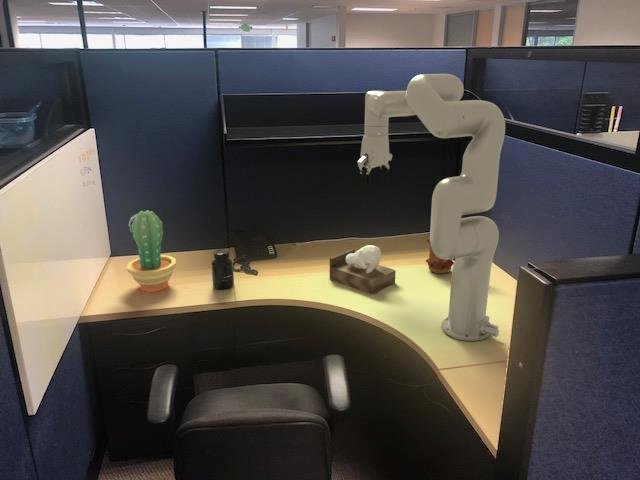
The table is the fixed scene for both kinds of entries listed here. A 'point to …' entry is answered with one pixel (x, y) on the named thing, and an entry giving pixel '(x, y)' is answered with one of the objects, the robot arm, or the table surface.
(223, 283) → the supplement bottle
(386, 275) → the display ledge
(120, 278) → the table surface
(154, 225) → the potted cactus
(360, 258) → the white animal figurine
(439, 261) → the mug
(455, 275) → the robot arm
